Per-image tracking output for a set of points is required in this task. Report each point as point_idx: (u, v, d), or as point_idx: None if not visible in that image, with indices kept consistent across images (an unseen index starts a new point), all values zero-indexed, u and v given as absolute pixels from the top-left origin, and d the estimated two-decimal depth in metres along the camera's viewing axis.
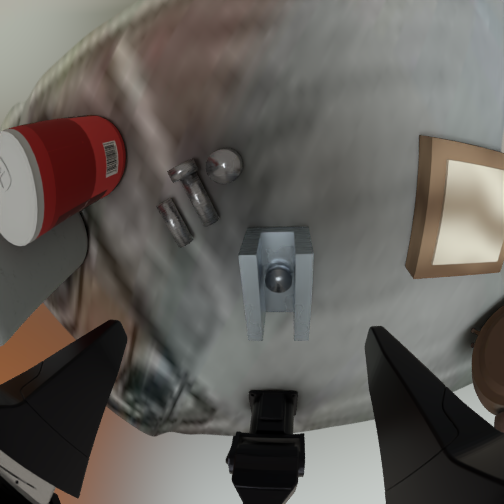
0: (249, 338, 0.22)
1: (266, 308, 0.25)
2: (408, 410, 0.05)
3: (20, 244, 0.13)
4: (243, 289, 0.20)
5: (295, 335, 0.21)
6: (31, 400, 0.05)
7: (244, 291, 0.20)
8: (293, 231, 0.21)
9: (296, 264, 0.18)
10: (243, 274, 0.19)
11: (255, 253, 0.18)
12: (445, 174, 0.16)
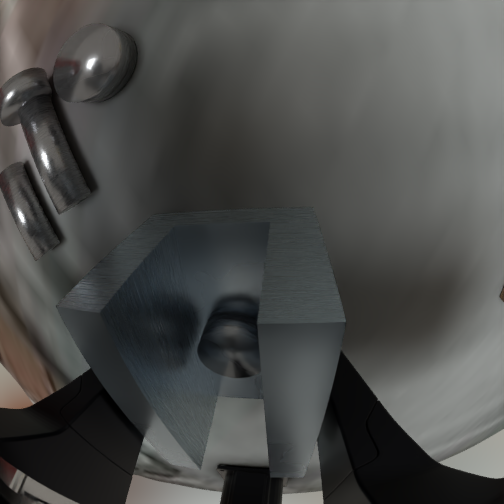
0: (172, 463, 0.08)
1: (217, 391, 0.11)
2: (332, 421, 0.05)
3: None
4: (112, 395, 0.05)
5: (273, 473, 0.07)
6: (75, 423, 0.04)
7: (117, 399, 0.05)
8: (270, 222, 0.07)
9: (264, 359, 0.04)
10: (93, 363, 0.05)
11: (103, 304, 0.04)
12: None
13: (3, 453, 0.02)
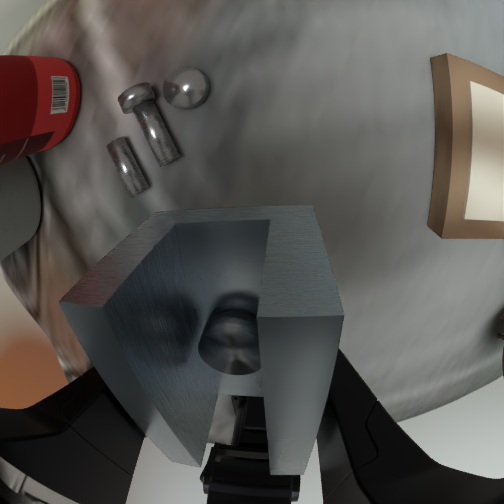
0: (172, 460, 0.08)
1: (218, 389, 0.11)
2: (331, 421, 0.05)
3: None
4: (113, 391, 0.05)
5: (272, 470, 0.07)
6: (75, 423, 0.04)
7: (118, 395, 0.05)
8: (270, 219, 0.07)
9: (264, 352, 0.04)
10: (94, 358, 0.05)
11: (105, 299, 0.04)
12: (468, 98, 0.10)
13: (3, 453, 0.02)
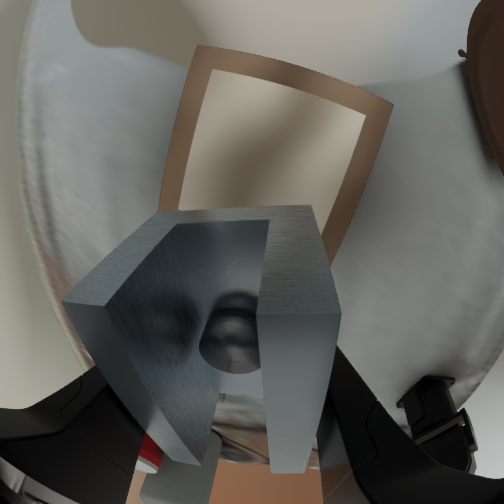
0: (173, 459, 0.08)
1: (219, 388, 0.11)
2: (331, 421, 0.05)
3: (155, 472, 0.23)
4: (115, 390, 0.05)
5: (273, 469, 0.07)
6: (75, 423, 0.04)
7: (119, 394, 0.06)
8: (270, 220, 0.07)
9: (263, 350, 0.04)
10: (96, 357, 0.05)
11: (107, 298, 0.04)
12: None
13: (3, 453, 0.02)
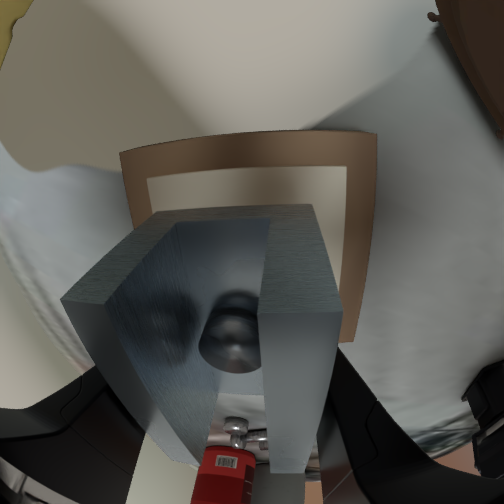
0: (173, 459, 0.08)
1: (218, 388, 0.11)
2: (331, 421, 0.05)
3: None
4: (114, 389, 0.05)
5: (273, 469, 0.07)
6: (75, 423, 0.04)
7: (118, 393, 0.06)
8: (270, 218, 0.07)
9: (264, 349, 0.04)
10: (95, 356, 0.05)
11: (106, 296, 0.04)
12: None
13: (3, 453, 0.02)
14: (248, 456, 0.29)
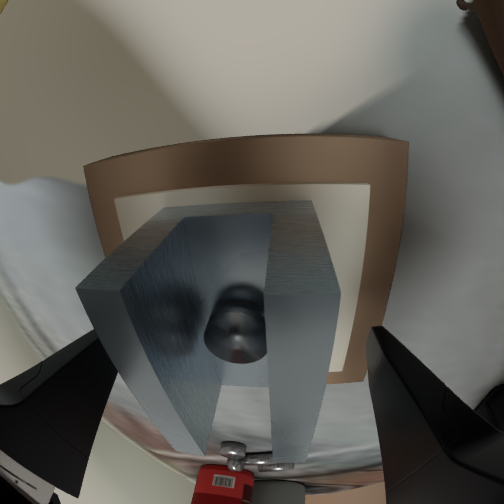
0: (177, 449, 0.08)
1: (221, 380, 0.11)
2: (409, 410, 0.05)
3: None
4: (123, 376, 0.06)
5: (275, 458, 0.07)
6: (31, 400, 0.05)
7: (127, 381, 0.06)
8: (273, 214, 0.08)
9: (270, 330, 0.05)
10: (107, 343, 0.05)
11: (121, 284, 0.05)
12: None
13: None
14: (246, 475, 0.26)
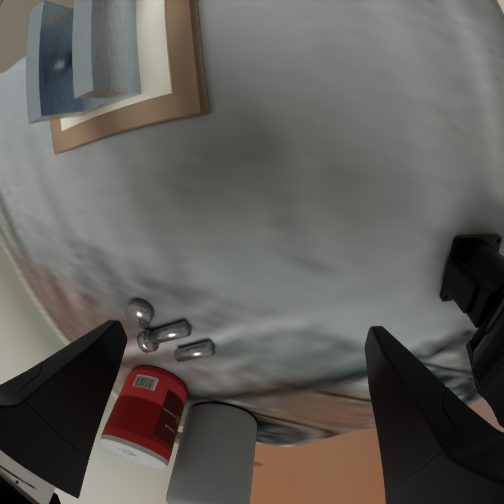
0: (29, 119, 0.09)
1: (82, 104, 0.12)
2: (408, 410, 0.05)
3: (163, 463, 0.20)
4: (27, 44, 0.07)
5: (75, 86, 0.09)
6: (31, 400, 0.05)
7: (28, 46, 0.07)
8: None
9: None
10: (30, 26, 0.06)
11: (45, 1, 0.06)
12: (75, 126, 0.14)
13: None
14: (173, 380, 0.28)
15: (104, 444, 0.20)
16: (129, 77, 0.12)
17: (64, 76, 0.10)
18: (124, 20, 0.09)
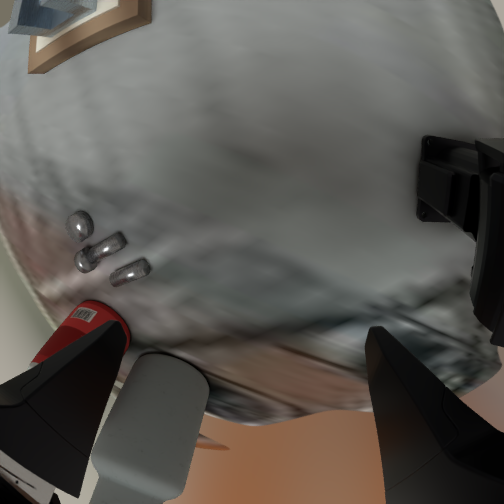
0: (9, 30, 0.07)
1: (51, 24, 0.10)
2: (408, 410, 0.05)
3: None
4: None
5: None
6: (32, 400, 0.05)
7: None
8: None
9: None
10: None
11: None
12: (46, 47, 0.12)
13: None
14: (113, 316, 0.25)
15: None
16: None
17: None
18: None
